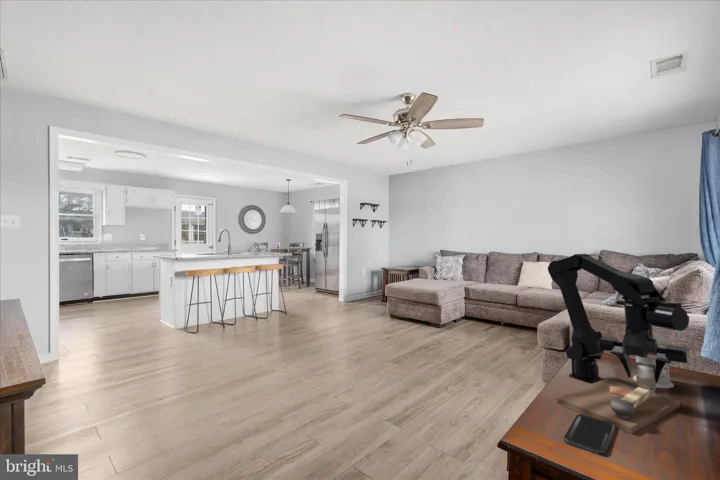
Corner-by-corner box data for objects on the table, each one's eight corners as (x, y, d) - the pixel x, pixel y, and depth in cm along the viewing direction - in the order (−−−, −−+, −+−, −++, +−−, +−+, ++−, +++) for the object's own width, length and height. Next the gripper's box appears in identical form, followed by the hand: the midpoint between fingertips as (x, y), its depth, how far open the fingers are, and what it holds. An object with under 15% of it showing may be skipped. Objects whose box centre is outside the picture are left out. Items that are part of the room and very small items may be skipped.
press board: (557, 403, 93) (556, 394, 93) (606, 383, 104) (606, 375, 104) (631, 434, 77) (630, 423, 77) (679, 406, 89) (679, 397, 89)
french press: (626, 374, 111) (623, 298, 111) (668, 376, 108) (665, 299, 108) (642, 386, 101) (638, 304, 102) (689, 389, 98) (685, 304, 98)
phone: (562, 439, 75) (578, 413, 86) (563, 444, 75) (578, 417, 86) (606, 453, 69) (616, 424, 80) (606, 459, 69) (616, 428, 80)
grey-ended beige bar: (629, 417, 79) (628, 384, 79) (608, 410, 83) (606, 378, 83) (659, 394, 90) (658, 365, 90) (639, 388, 94) (638, 360, 94)
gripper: (590, 323, 94) (594, 379, 93) (681, 334, 80) (686, 400, 79) (601, 316, 101) (604, 368, 101) (686, 325, 87) (691, 385, 87)
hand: (642, 379), depth 92 cm, fingers open, 5 cm apart
